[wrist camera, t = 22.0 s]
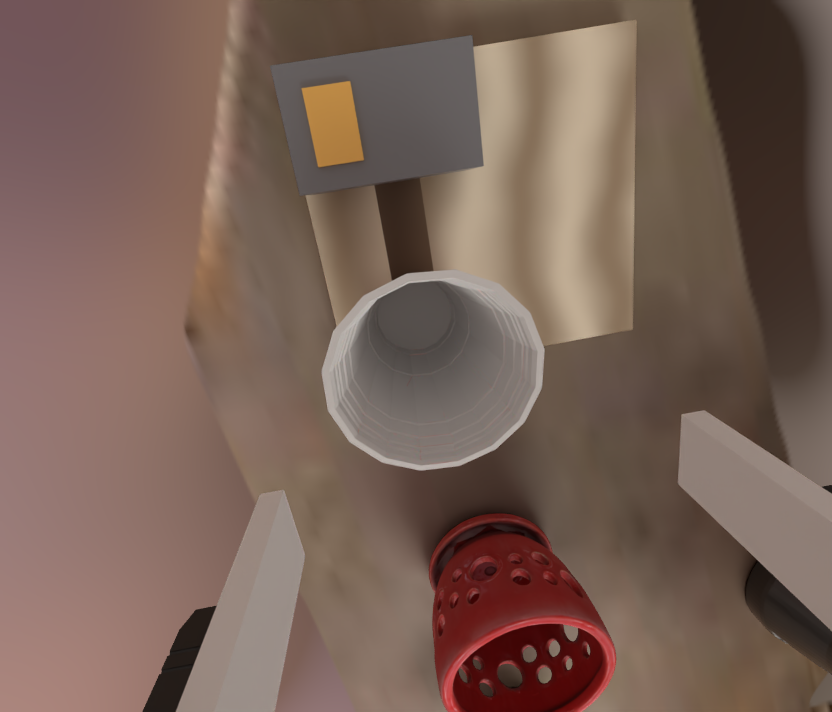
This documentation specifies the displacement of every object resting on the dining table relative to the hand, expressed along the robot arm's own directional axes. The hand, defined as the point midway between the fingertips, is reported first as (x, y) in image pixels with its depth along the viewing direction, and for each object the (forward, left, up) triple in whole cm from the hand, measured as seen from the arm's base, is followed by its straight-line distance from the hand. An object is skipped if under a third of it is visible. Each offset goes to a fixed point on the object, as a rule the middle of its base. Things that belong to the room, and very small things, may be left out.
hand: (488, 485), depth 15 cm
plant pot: (-3, +24, -21) cm, 32 cm away
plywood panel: (-5, -7, -21) cm, 22 cm away
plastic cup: (+1, -1, -19) cm, 19 cm away
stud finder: (+1, -13, -19) cm, 23 cm away
